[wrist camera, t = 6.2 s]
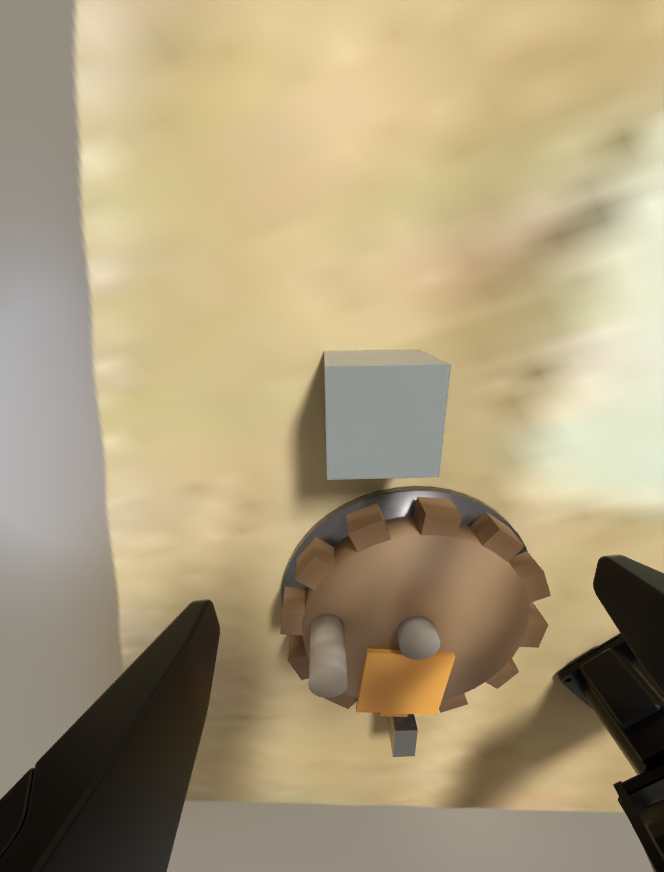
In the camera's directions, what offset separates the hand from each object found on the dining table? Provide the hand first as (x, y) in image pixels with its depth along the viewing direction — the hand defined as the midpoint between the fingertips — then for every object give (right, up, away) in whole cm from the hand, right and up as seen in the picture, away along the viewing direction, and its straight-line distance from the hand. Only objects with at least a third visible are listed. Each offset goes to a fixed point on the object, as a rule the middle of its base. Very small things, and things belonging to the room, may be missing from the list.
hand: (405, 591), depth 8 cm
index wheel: (+3, -7, +16) cm, 18 cm away
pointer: (+3, -18, +20) cm, 27 cm away
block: (0, +6, +11) cm, 13 cm away
